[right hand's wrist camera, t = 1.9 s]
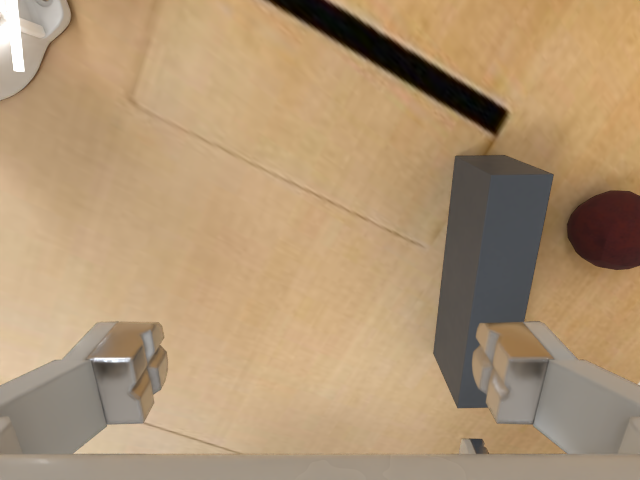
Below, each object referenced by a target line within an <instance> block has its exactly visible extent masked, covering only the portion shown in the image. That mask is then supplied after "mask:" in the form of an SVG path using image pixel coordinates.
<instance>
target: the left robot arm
mask: <svg viewBox="0 0 640 480" xmlns="http://www.w3.org/2000/svg"><path fill="white" fill-rule="evenodd" d="M459 452H460V454H489V453H488V450H487V448H485V447H484V441H483V440H482V439H461V444H460V449H459Z"/></svg>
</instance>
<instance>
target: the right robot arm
mask: <svg viewBox="0 0 640 480" xmlns="http://www.w3.org/2000/svg"><path fill="white" fill-rule="evenodd" d="M70 20H71V12H70V8H69V5H68V3H67V0H48V1H46V0H0V100H3V99H6V98H9V97H11V96H13V95H15V94H16V93H18V92H19V91H21V90H22V89H23V88H24V87H25V86H26V85H27V84H28V83H29V82H30V81H31V80H32V78H33V77H34V76H35V74H36V72H37V71H38V69H39V66H40V64H41V61H42V59H43V56H44V53H45V51H46V49H47V47H48V45H49V43H50V42H51V41H53V40H54V39H55V38H56V37H57V36H59V35H60V34H61V33H62V32H63V31H64V30H65V29H66V27H67V26H68V25H69V23H70ZM163 338H164V333H163V328H162V325H161V324H160V323H159V322H118V321H114V322H98V323H96V324H95V325H94V326H93V327H92V328H91V329H90V330H89V331H88V332H87V333H86V335H85V336H84V337H83V338H82V339H81V340H80V341H79V342H78V343H77V344H76V345H75V346H74V347H73V348H72V349H71V350H70V351H69V353H68V354H67V355H66V356H65V357H64V358H63V359H62V360H54V361H52V362H49V363H47V364H45V365H43V366H41V367H39V368H37V369H34V370H32V371H30V372H28V373H26V374H24V375H22V376H20V377H17V378H15V379H13V380H11V381H9V382H7V383H5V384H2V385H0V480H640V385H637V384H635V383H633V382H631V381H629V380H627V379H625V378H623V377H620V376H618V375H616V374H614V373H612V372H610V371H608V370H605V369H603V368H601V367H599V366H597V365H595V364H593V363H591V362H588V361H586V360H578V359H577V358H576V357H575V356H574V355H573V354H572V353H571V351H570V350H569V349H568V348H567V347H566V346H565V345H564V344H563V343H562V342H561V341H560V340H559V339H558V338H557V337H556V336H555V334H554V333H553V332H552V331H551V330H550V329H549V328H548V327H547V326H546V325H545V324H544V323H542V322H540V321H533V322H505V323H480V324H479V326H478V328H477V333H476V338H477V340H478V342H479V343H480V345H479V347H478V348H477V349H476V350H475V351H474V352H473V358H472V370H473V376H474V379H475V382H476V384H477V386H478V389H479V390H481V391H482V392H484V393H485V394H487V398H486V404H487V406H488V408H489V410H490V412H491V413H492V415H493V417H494V419H495V421H496V423H500V424H533V426H534V427H535V428H536V429H537V430H539V431H540V432H541V433H542V434H544V435H545V436H546V437H547V438H549V439H550V440H551V441H552V442H553V443H555V444H556V445H557V446H558V447H560V448H561V449H562V450H563V451H565V452H566V453H567V454H73V453H74V452H76V451H77V450H78V449H79V448H80V447H82V446H83V445H84V444H85V443H87V442H88V441H89V440H90V439H92V438H93V437H94V436H95V435H97V434H98V433H99V432H100V431H102V430H103V429H104V428H105V427H107V425H106V424H139V423H144V421H145V419H146V417H147V415H148V413H149V412H150V410H151V408H152V406H153V404H154V398H153V394H155V393H156V392H158V391H159V390H161V389H162V386H163V384H164V382H165V380H166V375H167V371H168V357H167V352H166V351H165V350H164V349H163V348H162V347H161V345H160V344H161V342H162V340H163Z"/></svg>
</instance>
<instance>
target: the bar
mask: <svg viewBox="0 0 640 480" xmlns="http://www.w3.org/2000/svg"><path fill="white" fill-rule="evenodd" d="M552 180H553V174H551V173H549V172H546V171H544V170H541V169H539V168H536V167H533V166H531V165H528V164H526V163H523V162H521V161H518V160H516V159H513V158H510V157H508V156H505V155H489V156H455V163H454V172H453V181H452V190H451V199H450V208H449V217H448V226H447V235H446V244H445V253H444V262H443V271H442V280H441V289H440V298H439V307H438V316H437V325H436V334H435V343H434V352H433V354H434V356H435V358H436V361H437V363H438V365H439V367H440V370H441V372H442V374H443V376H444V379H445V381H446V383H447V385H448V388H449V390H450V392H451V395H452V397H453V399H454V401H455V404H456V406H457V408H488V406H487V404H486V398H487V394H485V393H484V392H482V391H481V390H479V389H478V386H477V384H476V382H475V379H474V376H473V370H472V358H473V352H474V351H475V350H476V349H477V348H478V347H479V345H480V343H479V342H478V340H477V338H476V333H477V328H478V326H479V324H480V323H505V322H524V319H525V314H526V309H527V304H528V299H529V294H530V289H531V284H532V279H533V274H534V269H535V265H536V260H537V255H538V250H539V245H540V240H541V235H542V230H543V225H544V220H545V215H546V210H547V205H548V200H549V195H550V190H551V185H552Z"/></svg>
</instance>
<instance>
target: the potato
mask: <svg viewBox="0 0 640 480" xmlns="http://www.w3.org/2000/svg"><path fill="white" fill-rule="evenodd" d="M567 231H568V239H569V240H570V242H571V244H572V246H573V247H574V249H575V251H576V252H577V253H578V254H579V255H580V256H581V257H582V258H584V259H585V260H587V261H589V262H590V263H592V264H593V265H595V266H598V267H602V268H608V269H614V270H622V269H630V268H634V267H637V266H640V196H639V195H637V194H634V193H632V192H630V191H608V192H605V193H602V194H599V195H596V196H594V197H592V198H590V199H589V200H587V201H586V202H584V203H583V204H581V205H580V206H578V207H577V209H576V210H575V211H574V212H573V213H572V214H571V216H570V219H569V221H568V224H567Z"/></svg>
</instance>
